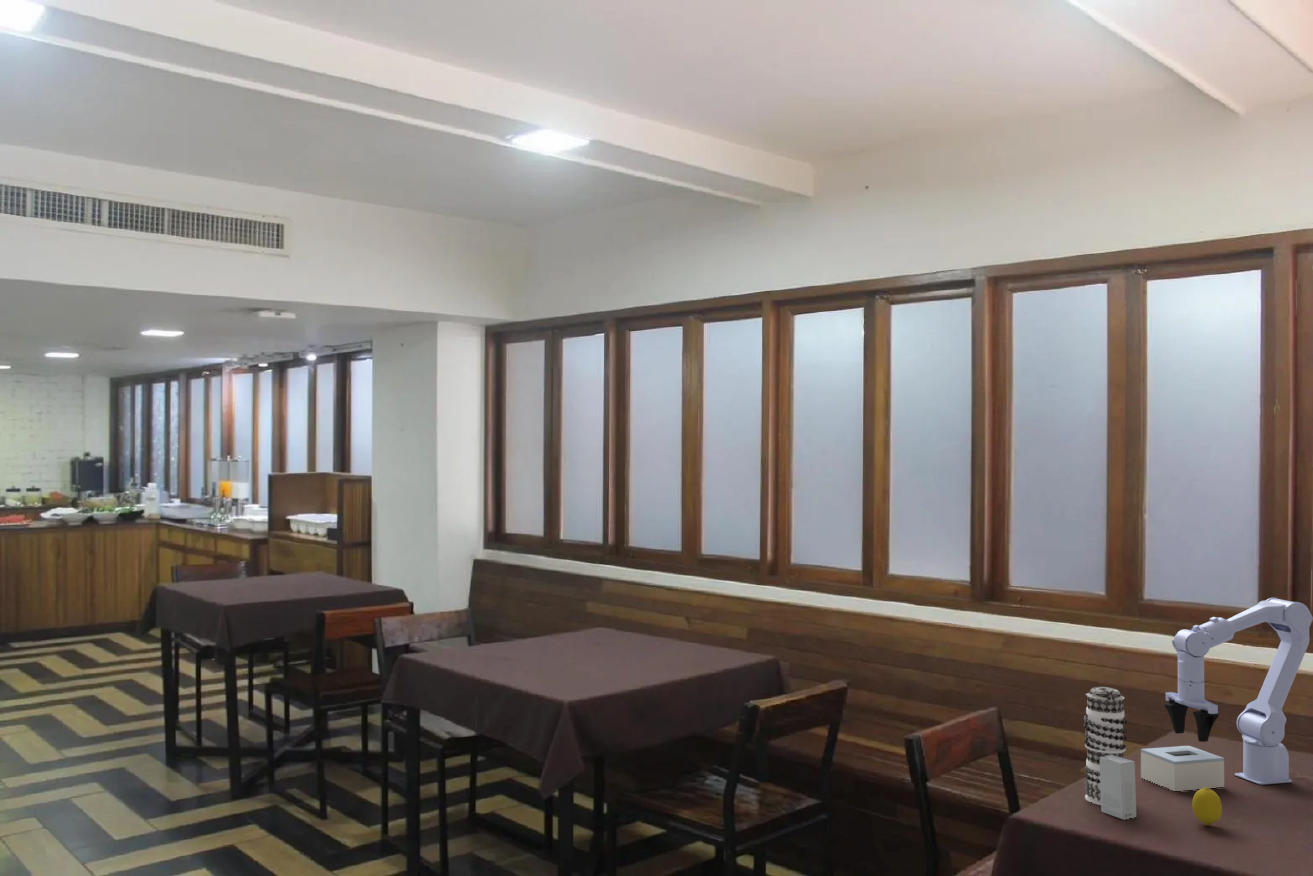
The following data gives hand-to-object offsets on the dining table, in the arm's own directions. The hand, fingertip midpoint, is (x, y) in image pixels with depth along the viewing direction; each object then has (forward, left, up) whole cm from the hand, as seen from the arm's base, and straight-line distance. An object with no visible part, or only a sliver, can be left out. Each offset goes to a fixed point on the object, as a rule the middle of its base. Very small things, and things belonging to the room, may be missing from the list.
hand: (1191, 737), depth 250 cm
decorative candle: (+31, +8, -11) cm, 34 cm away
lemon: (+21, +27, -11) cm, 36 cm away
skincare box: (+35, +17, -11) cm, 40 cm away
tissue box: (+4, +1, -10) cm, 11 cm away
